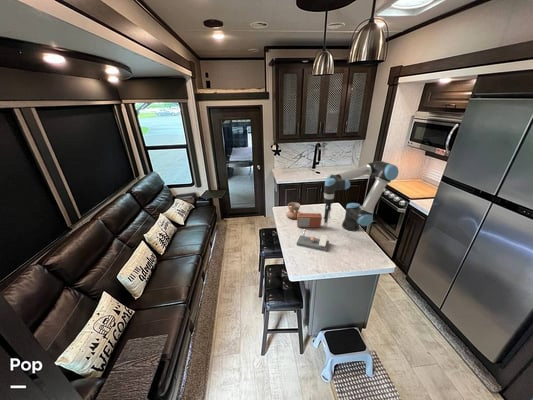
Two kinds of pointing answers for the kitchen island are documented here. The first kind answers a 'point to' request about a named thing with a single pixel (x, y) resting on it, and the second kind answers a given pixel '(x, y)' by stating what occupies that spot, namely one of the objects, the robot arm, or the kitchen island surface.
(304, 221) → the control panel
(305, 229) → the toggle lever
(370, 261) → the kitchen island surface
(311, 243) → the switch panel
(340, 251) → the kitchen island surface
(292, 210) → the ceramic jug
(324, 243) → the rocker switch
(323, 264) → the kitchen island surface
